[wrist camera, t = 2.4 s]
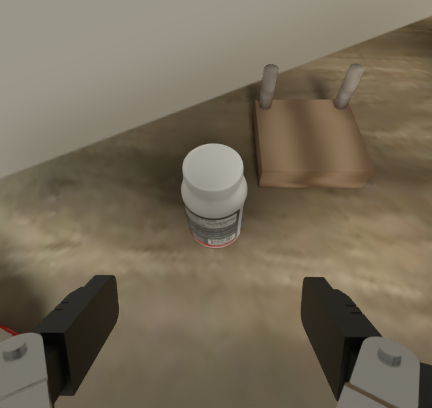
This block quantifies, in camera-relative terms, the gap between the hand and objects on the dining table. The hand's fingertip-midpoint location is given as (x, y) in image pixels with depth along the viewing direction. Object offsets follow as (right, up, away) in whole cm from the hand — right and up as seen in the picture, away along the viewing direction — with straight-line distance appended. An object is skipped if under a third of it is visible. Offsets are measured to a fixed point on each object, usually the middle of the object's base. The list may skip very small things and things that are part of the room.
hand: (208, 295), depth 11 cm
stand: (+11, +11, +23) cm, 28 cm away
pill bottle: (0, +1, +17) cm, 17 cm away
